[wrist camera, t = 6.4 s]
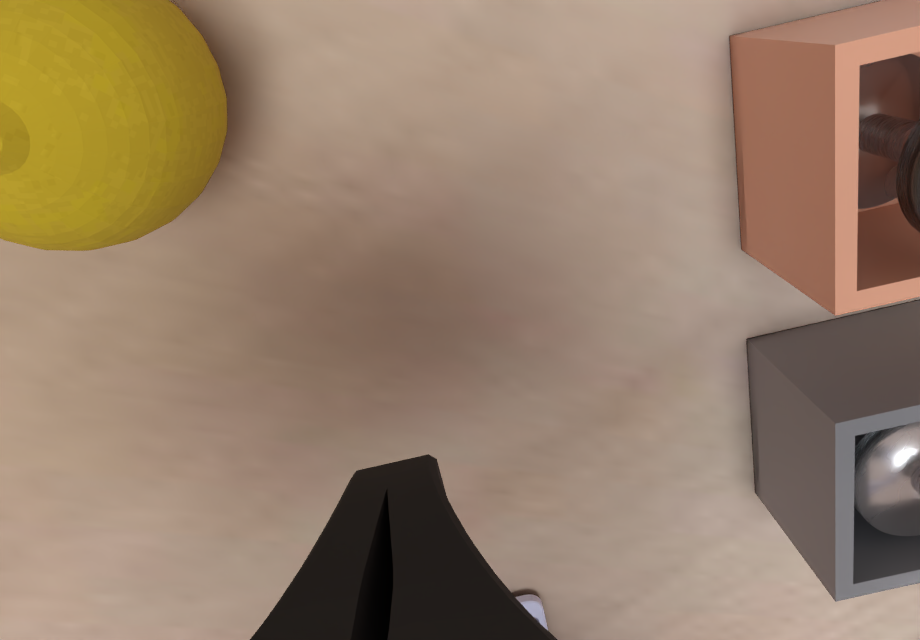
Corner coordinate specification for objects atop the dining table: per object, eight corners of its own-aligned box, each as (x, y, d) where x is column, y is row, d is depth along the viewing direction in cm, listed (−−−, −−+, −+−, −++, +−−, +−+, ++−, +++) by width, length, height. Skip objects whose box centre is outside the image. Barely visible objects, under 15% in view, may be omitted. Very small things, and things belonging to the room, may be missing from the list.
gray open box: (968, 444, 25) (1096, 543, 20) (755, 492, 25) (835, 601, 20) (982, 285, 22) (1131, 357, 18) (747, 339, 23) (835, 423, 18)
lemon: (255, -20, 18) (153, -39, 10) (255, 204, 20) (172, 320, 12) (13, -48, 17) (-279, -91, 10) (41, 186, 19) (-182, 297, 12)
